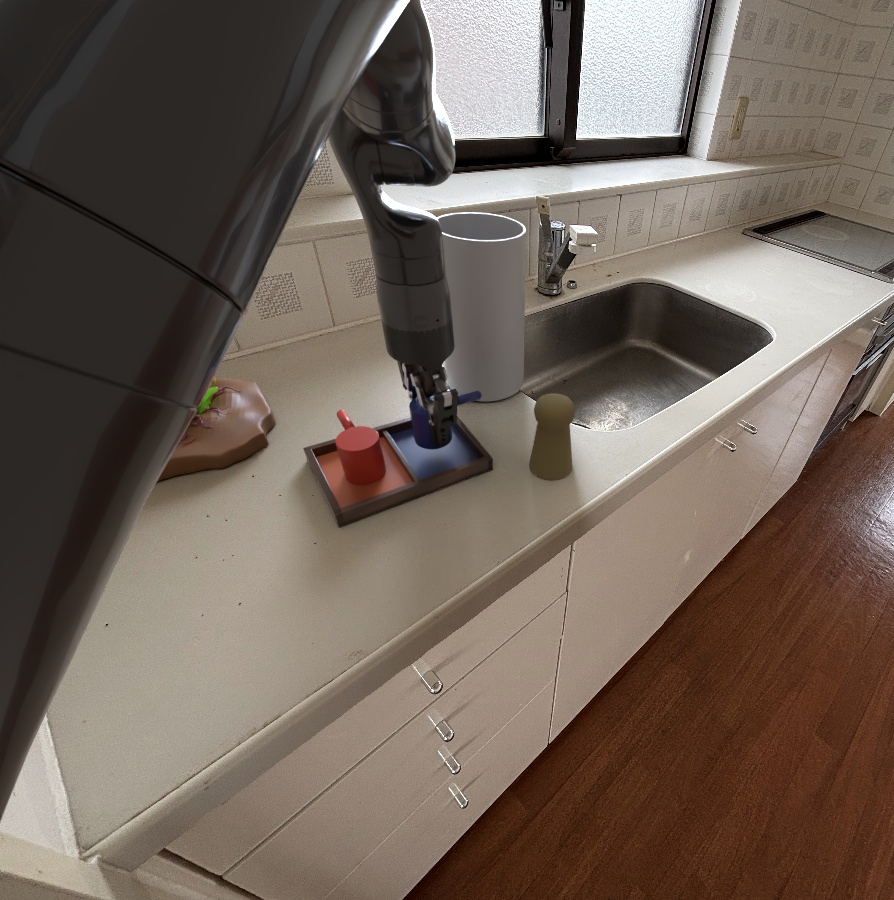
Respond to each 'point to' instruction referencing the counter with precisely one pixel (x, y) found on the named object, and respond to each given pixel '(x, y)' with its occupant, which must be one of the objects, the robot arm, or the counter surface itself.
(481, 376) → the cylinder vase
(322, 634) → the counter surface
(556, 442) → the olive pawn figure
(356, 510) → the tray
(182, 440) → the plant
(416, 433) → the blue scoop
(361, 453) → the red scoop
